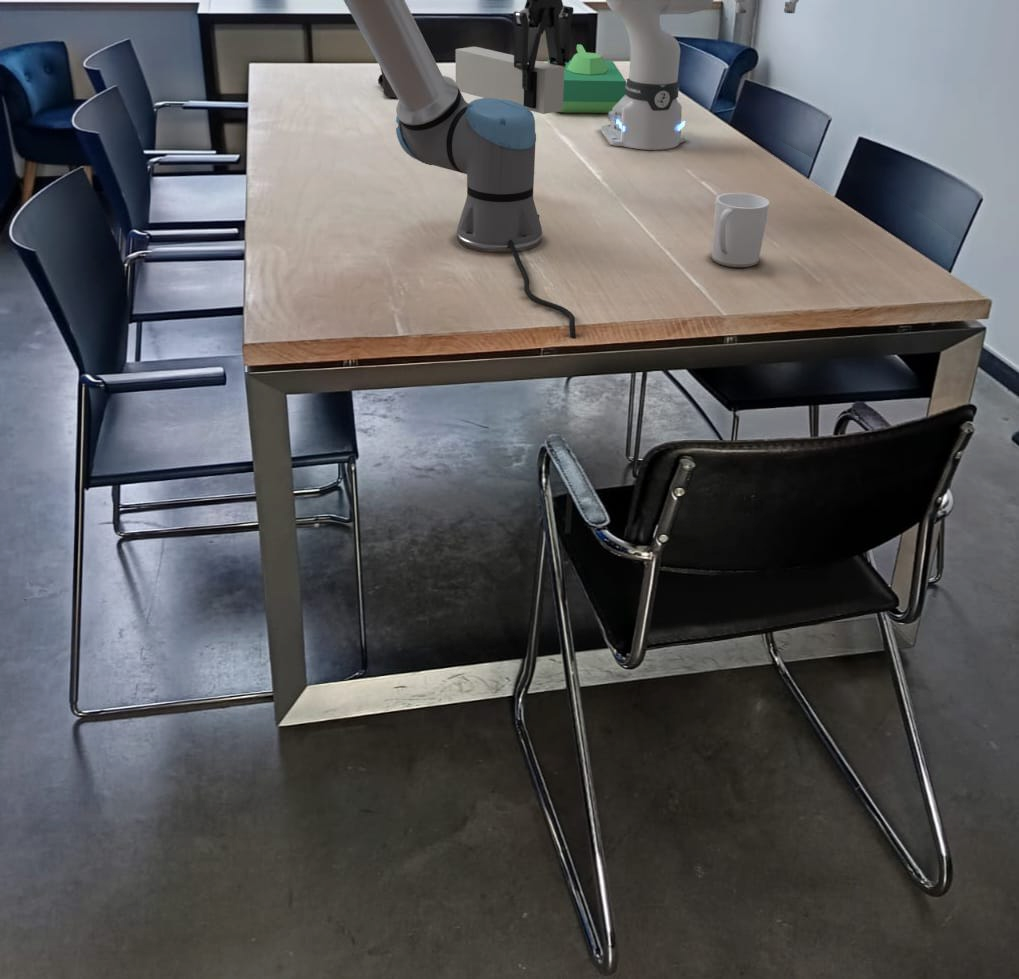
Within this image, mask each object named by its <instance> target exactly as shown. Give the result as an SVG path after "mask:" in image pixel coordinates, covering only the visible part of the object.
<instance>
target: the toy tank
mask: <svg viewBox="0 0 1019 979" xmlns="http://www.w3.org/2000/svg"><path fill="white" fill-rule="evenodd" d="M576 51H577V52H576V53H575V54H574V55H573V56H572V58H571V59H570V61H569V62H568V63H565V64H566V66H565V68H564V88H563V110H562V111H556V112H555V113H582V114H583V113H585V114H586V113H587V114H588V113H589V114H591V113H592V114H593V113H594V114H595V113H596V114H608V113H609V112H610V111H612V108H613V107H614V106H615V105H616V104H617V103H618V102H619V101H620V100H621V98H622V97H623V96H624V95H625V93H624V91H625V85H626V83H627V80H626V79H625V78H624V76H623V75H622V73H621V71H620V70H619V68H618V67H617V65H616V64H615V62H614V61H613V60H605V59H604V57H603V55H601V54H599V53H595V52H587V51H586V49H585V48H584V46H583V45H582V44H576ZM547 63H549V64H550V61H549V59H547Z"/></svg>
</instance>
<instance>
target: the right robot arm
mask: <svg viewBox="0 0 1019 979" xmlns="http://www.w3.org/2000/svg"><path fill="white" fill-rule="evenodd" d="M714 1H715V0H605V3H606V4H607V6H608V8H609V9H610V10H611V11H612V12H613V13H614V14H615V15H616V16H617V17H618V19H619V20H621V22H622V24H623V25H624V27H625V30H626V33H627V37H628V41H629V76H628V78H626V79H625V80H626V85H625V91H624V93H625V95H624V96H623V97H622V98H621V100H620V101H619V102H618V103H617V104H616V105H615V106H614V107H613V108H612V111H610V112H609V113H607V120H608V122H610V124H605V125H602V126H600V132H601V133H602V135H603V136H604V138H605V139H606V141H607V142H608V144H609V145H611V146H615V147H625V148H629V149H635V150H646V151H647V150H648V151H651V150H652V151H654V150H656V151H657V150H658V151H659V150H668V149H672V148H673V149H674V148H676V147H678V146H679V145H680V144H681V143H685V142H686V136H685V135H683V134H682V129H683V128H684V126H685V125H686V120H683V121H682V116H683V113H682V112H683V108H682V107H683V106H682V104H681V103H679V101H678V98H679V91H680V81H679V80H678V78H679V69H680V58H681V46H680V44H679V42H678V39H676V38H675V37H674V36H673V35H671V34H670V33H669V32H667V31H665V30H663V29H662V27H661V21H660V20H661V19H660V18H661V16H662V15H664V16H665V15H689V14H693V13H694V14H695V13H698V12H701V11H705V10H707V9H709V8H710V7H711V5H712V4H713V2H714ZM734 1H735V13H736V14H746V13H747V7H748V3H747V2H745V1H743V0H734ZM799 1H800V0H789V1H785V2H784V10H783V13H785V14H795V12H796V9H797V8H796V7H797V4H798V2H799Z"/></svg>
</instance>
